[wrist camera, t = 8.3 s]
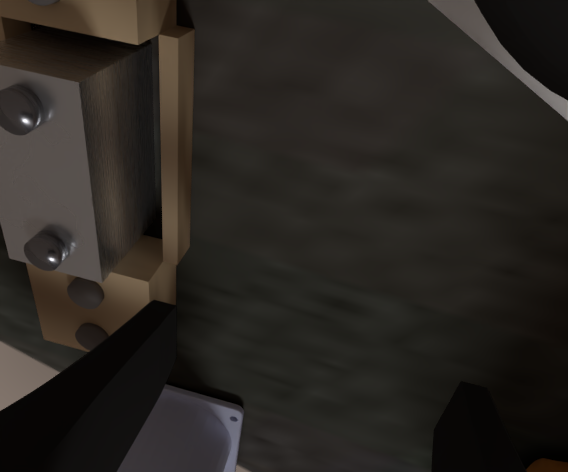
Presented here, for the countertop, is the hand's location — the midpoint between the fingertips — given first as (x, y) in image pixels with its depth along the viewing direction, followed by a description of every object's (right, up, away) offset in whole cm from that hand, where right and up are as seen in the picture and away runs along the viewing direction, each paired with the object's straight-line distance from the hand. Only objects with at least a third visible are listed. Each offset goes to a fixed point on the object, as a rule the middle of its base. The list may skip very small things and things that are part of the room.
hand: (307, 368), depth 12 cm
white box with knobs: (-8, +8, +9) cm, 14 cm away
